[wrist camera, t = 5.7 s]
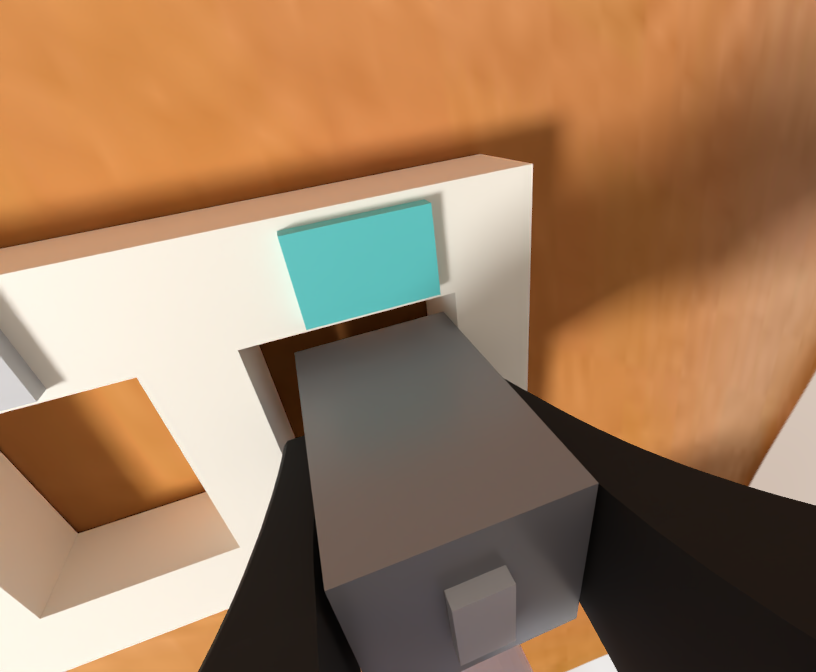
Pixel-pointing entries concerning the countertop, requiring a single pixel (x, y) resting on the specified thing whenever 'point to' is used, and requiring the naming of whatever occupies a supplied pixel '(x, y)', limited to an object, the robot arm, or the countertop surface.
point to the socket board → (224, 371)
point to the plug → (437, 500)
